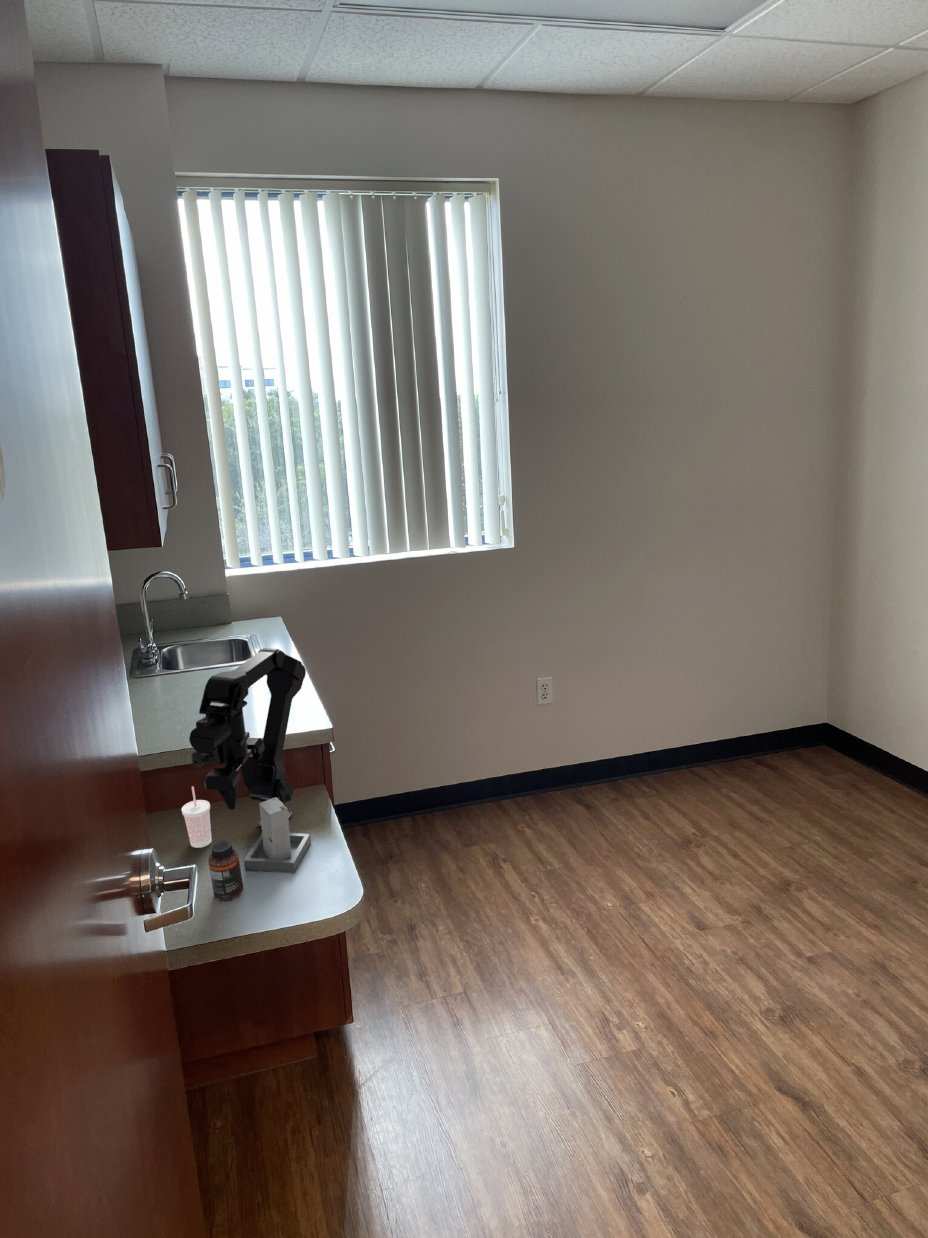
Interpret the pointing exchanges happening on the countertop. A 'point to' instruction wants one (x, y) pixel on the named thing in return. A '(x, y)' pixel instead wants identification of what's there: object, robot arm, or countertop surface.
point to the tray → (261, 861)
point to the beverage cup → (198, 821)
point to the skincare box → (275, 829)
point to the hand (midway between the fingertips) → (240, 798)
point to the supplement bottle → (225, 871)
